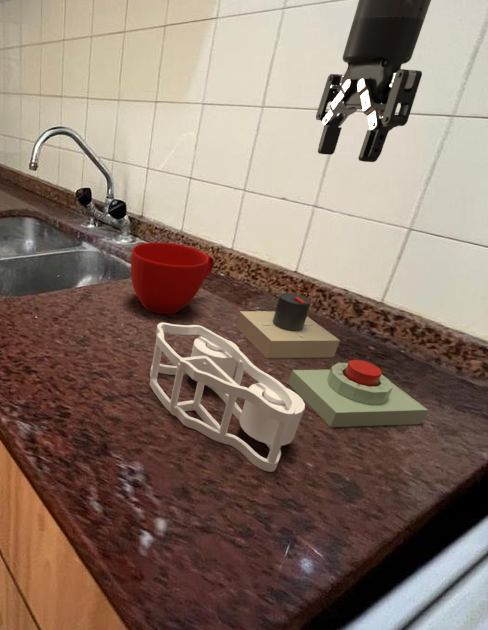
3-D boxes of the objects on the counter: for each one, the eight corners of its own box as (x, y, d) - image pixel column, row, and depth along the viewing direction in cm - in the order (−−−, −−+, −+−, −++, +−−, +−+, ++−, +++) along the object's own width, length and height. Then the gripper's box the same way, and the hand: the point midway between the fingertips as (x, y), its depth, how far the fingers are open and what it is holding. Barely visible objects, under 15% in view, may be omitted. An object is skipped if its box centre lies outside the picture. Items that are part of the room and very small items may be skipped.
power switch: (367, 382, 62) (377, 357, 61) (420, 424, 54) (434, 397, 53) (287, 383, 61) (296, 358, 59) (330, 427, 53) (341, 399, 51)
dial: (267, 318, 72) (274, 290, 70) (292, 318, 73) (300, 291, 71) (282, 331, 68) (290, 302, 66) (308, 331, 69) (318, 302, 67)
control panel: (295, 327, 77) (301, 310, 76) (333, 357, 68) (340, 339, 67) (235, 327, 75) (239, 310, 74) (266, 358, 66) (271, 339, 65)
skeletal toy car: (312, 463, 47) (335, 406, 44) (221, 482, 44) (239, 422, 41) (207, 363, 64) (218, 317, 61) (136, 371, 61) (144, 323, 58)
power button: (363, 371, 58) (367, 359, 57) (384, 387, 55) (389, 375, 54) (337, 371, 57) (342, 359, 56) (357, 388, 54) (362, 375, 53)
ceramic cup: (229, 312, 81) (242, 259, 76) (154, 327, 73) (163, 269, 69) (182, 286, 91) (191, 238, 87) (111, 297, 84) (117, 245, 79)
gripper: (467, 12, 49) (409, 166, 56) (373, 29, 62) (335, 153, 69) (407, 5, 48) (355, 163, 55) (323, 24, 61) (290, 150, 68)
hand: (344, 157), depth 62 cm, fingers open, 8 cm apart
